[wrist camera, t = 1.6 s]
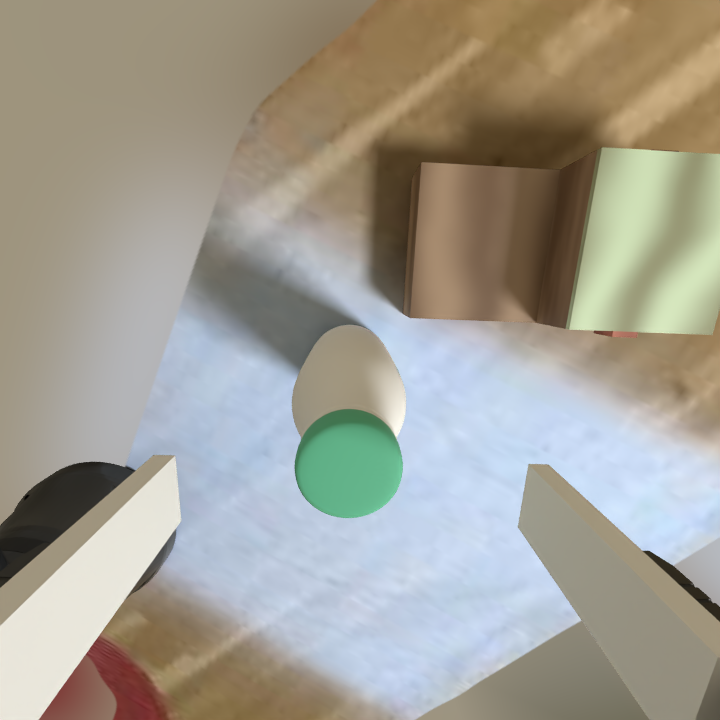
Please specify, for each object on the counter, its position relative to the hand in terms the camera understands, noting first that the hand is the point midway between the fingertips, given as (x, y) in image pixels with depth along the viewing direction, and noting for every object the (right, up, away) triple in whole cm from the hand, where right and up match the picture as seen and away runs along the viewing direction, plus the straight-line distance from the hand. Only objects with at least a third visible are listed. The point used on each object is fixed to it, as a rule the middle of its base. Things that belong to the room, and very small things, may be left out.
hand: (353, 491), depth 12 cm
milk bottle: (-1, +5, +21) cm, 21 cm away
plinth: (+16, +15, +19) cm, 29 cm away
